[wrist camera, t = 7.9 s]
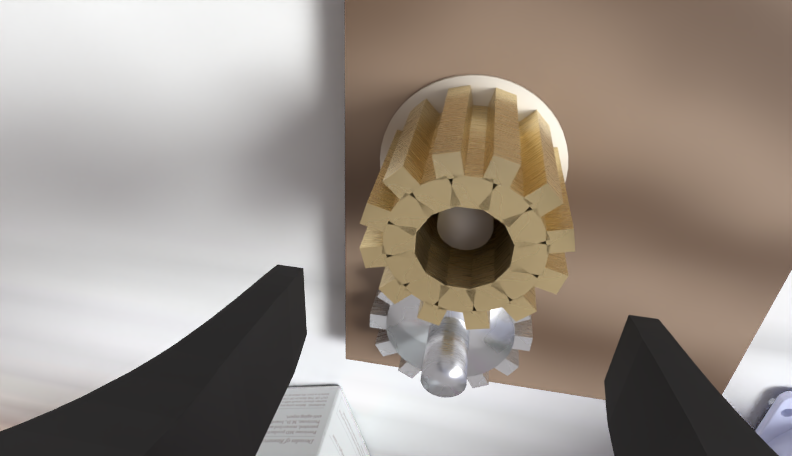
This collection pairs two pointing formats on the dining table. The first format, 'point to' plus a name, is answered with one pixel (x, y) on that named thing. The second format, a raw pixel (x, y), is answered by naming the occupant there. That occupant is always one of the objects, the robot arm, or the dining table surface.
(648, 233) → the gear board
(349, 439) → the supplement box
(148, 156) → the dining table surface
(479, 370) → the gear
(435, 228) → the brass gear
